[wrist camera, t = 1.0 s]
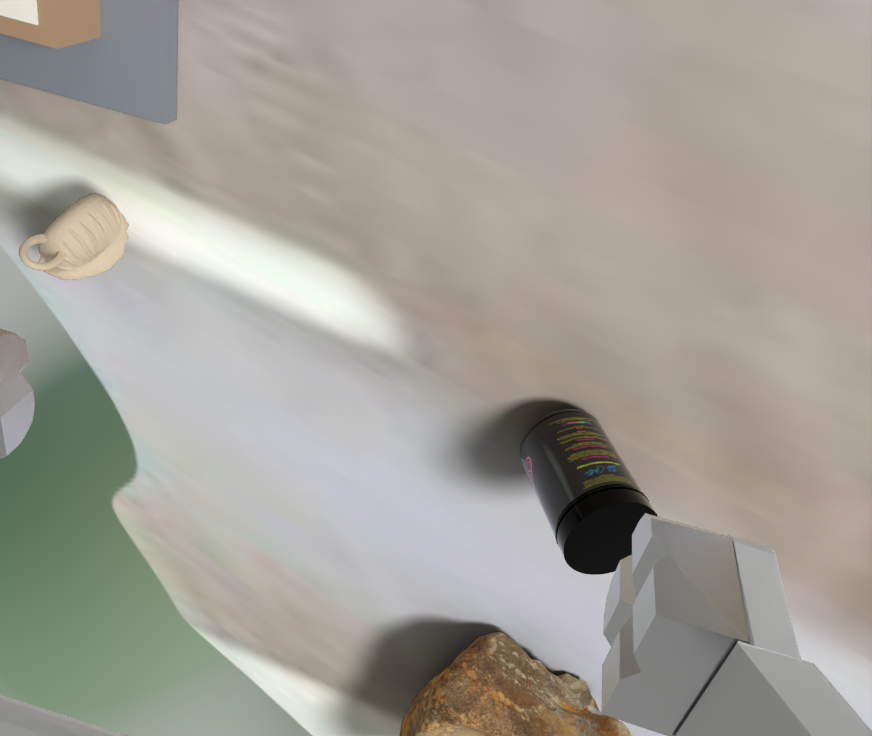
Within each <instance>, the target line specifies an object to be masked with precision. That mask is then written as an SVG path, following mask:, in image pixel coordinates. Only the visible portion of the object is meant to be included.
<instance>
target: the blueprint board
mask: <svg viewBox="0 0 872 736" xmlns="http://www.w3.org/2000/svg"><path fill="white" fill-rule="evenodd" d="M177 56H178V0H0V79H4V80H7V81H11V82H14V83H18V84H22V85H25V86H29V87H33V88H36V89H40V90H43V91H47V92H51V93H54V94H58V95H61V96H65V97H69V98H72V99H76V100H79V101H83V102H87V103H90V104H94V105H98V106H101V107H105V108H108V109H112V110H116V111H119V112H123V113H126V114H130V115H134V116H137V117H141V118H145V119H148V120H152V121H155V122H159V123H163V124H168V123H170V122H172V121H174V120H176V119H177Z"/></svg>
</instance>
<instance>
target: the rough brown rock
mask: <svg viewBox="0 0 872 736" xmlns="http://www.w3.org/2000/svg"><path fill="white" fill-rule="evenodd" d="M400 736H631V734H630V732H629V730H628V729H627V727H626V726H625V725H624V724H623V723H622V722H620V721H618V720H617V719H615V718H613V717H610V716H607V715H604V714H602V713H601V712H599V709H598V707H597V705H596V702H595V700H594V699H593V697H592V696H591V694H590V691H589V688H588V686H587V684H586V682H585V681H582V680H579V679H577V678H575V677H573V676H571V675H569V674H567V673H566V674H562V675H559V676H555V675H554V674H552V673H550V672H549V671H547V669H546V667H545V666H544V665H543V664H542V663H541V662H540V661H538V660H535V659H531V658H530V657H529V656H528V655H527V653H526V652H525V651H524V650H523V649H522V648H521V647H520V646H519V645H518V644H517V643H516V642H514V641H513V640H512V639H510V638H509V637H508V636H506V635H505V634H504V633H503V632H496V633H490V634H487V635H484V636H480V637H479V638H477V639H476V640H475V641H474V642H473V643H472V644H471V645H470V646H469V647H468V648H467V649H466V650H464V651H463V652H462V653H461V654H460V655H458V656H457V657H456V658H455V660H454V662H453V663H452V664H451V665H450V666H449V667H447V668H446V669H445V670H444V671H443V672H441V673H440V674H438V675H436V676H435V677H434V678H433V679H432V680H431V681H429V682H428V683H427V684H426V685H425V687H424V688H423V689H422V690H421V691H420V693H419V694H418V695H417V696H416V697H415V698H414V700H413V701H412V703H411V705H410V707H409V709H408V711H407V713H406V714H405V716H404V717H403V720H402V725H401V731H400Z"/></svg>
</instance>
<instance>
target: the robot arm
mask: <svg viewBox="0 0 872 736" xmlns="http://www.w3.org/2000/svg"><path fill="white" fill-rule="evenodd" d="M28 363H29V359H28V353H27V347H26V342H25V340H24V339H22V338H21V337H19V336H18V335H17V334H15V333H12V332H9V331H6V330H3V329H0V458H3V457H6V456H7V455H8V454H9V453H11V451H12V450H13V449H15V448H16V447H17V446H18V445H19V444H20V443H21V442H22V440H23V438H24V436H25V435H26V433H27V431H28V429H29V427H30V425H31V423H32V420H33V414H34V408H35V402H34V393H33V389H32V388H31V386H30V385H29V384H28V382H27V381H26V380H25V378H24V377H23V376H22V374H21V373H20V372H21V371H22V370H23V369H24V368H25V367H26V365H27V364H28ZM603 634H604V636H605V637H606V639H607V640H608V642H609V643H610V645H611V646H612V647H611V649H610V651H609V653H608V655H607V657H606V659H605V661H604V663H603V665H602V714H604V715H607V716H610V717H613V718H616V719H619V720H622V721H625V722H628V723H631V724H634V725H637V726H640V727H643V728H646V729H649V730H652V731H655V732H658V733H661V734H664V735H667V736H872V731H871V730H870V728H869V727H868V726H867V725H866V724H865V723H864V721H863V720H862V719H861V718H860V717H859V716H858V714H857V713H856V712H855V711H854V710H853V709H852V707H851V706H850V705H849V704H848V703H847V702H846V700H845V699H844V698H843V697H842V696H841V695H840V693H839V692H838V691H837V690H836V689H835V688H834V686H833V685H832V684H831V683H830V682H829V681H828V679H827V678H826V677H825V676H824V675H823V674H822V672H821V671H820V670H819V669H818V668H817V667H816V665H815V664H813V663H810V662H807V661H804V660H801V657H800V653H799V649H798V645H797V641H796V637H795V633H794V628H793V624H792V620H791V616H790V612H789V608H788V603H787V599H786V595H785V591H784V587H783V583H782V579H781V574H780V570H779V566H778V562H777V558H776V554H775V552H774V551H773V550H772V548H771V547H770V546H767V545H763V544H760V543H756V542H752V541H748V540H744V539H741V538H737V537H733V536H729V535H728V536H725V535H722V534H718V533H715V532H711V531H708V530H704V529H700V528H697V527H693V526H690V525H686V524H682V523H679V522H675V521H672V520H668V519H665V518H661V517H657V516H654V515H650V514H647V513H645V515H644V516H643V517H642V518H641V519H640V520H639V522H638V524H637V526H636V528H635V530H634V532H633V534H632V555H630V556H628V557H626V558H624V559H622V560H620V562H619V564H618V566H617V569H616V571H615V573H614V576H613V578H612V581H611V584H610V588H609V592H608V595H607V599H606V605H605V613H604V629H603ZM0 736H127V735H124V734H121V733H118V732H115V731H112V730H109V729H106V728H103V727H99V726H96V725H93V724H90V723H87V722H84V721H81V720H78V719H74V718H71V717H68V716H65V715H62V714H59V713H55V712H53V711H49V710H46V709H43V708H40V707H37V706H34V705H31V704H28V703H24V702H21V701H18V700H15V699H12V698H9V697H6V696H3V695H0Z"/></svg>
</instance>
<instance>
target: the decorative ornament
mask: <svg viewBox="0 0 872 736" xmlns="http://www.w3.org/2000/svg"><path fill="white" fill-rule="evenodd" d="M128 226H129V225H128V223H127V221H126V219H125V218H124V216H123V215H122V214H121V213H120V211H119V209H118V208H117V207H116V205H115V204H113V203H112V202H111V201H110V200H108V199H107V198H106V197H104V196H103V195H100V194H96V193H95V194H89V195H87V196H84V197H83V198H81V199H79V200H78V201H77V202H75V203H74V204H73V205H71V206H70V207H69V208H67V209H66V210H65V211H64V212H63V213H62V214H61V215H60V216H58V217H57V218H56V219H55V220H54V221H53V222H52V223H51V225H50V226H49V227H48V228H47V229H46V231H45V232H44V233H43V234H38V235H34V236H31V237H29V238H28V239H26V240H25V241H24V242H23V244H22V245H21V246H20V249H19V257H20V259H21V261H22V262H23V263H24V264H25V265H26V266H27V267H29V268H31V269H34V270H39V271H44V272H46V273H48V274H50V275H52V276H55V277H58V278H60V279H63V280H69V279H71V280H79V279H82V278H84V277H93V276H95V275H97V274H99V273H102V272H105V271H108V270H109V269H111V267H112V266H113V265H114V263H116V262H117V261H118V260H119V259H120V258H121V257H122V255H123V253H124V251H125V248H124V244H125V242H126V241H127V240H128V237H129V236H128V234H127V229H128ZM39 243H40V244H39ZM35 244H39V252H40V255H41V258H40V260H39V262H38V263H37V262H34V261H32V260H31V259H30V258H29V257H28V250H29V248H30V247H31V246H33V245H35Z"/></svg>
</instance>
